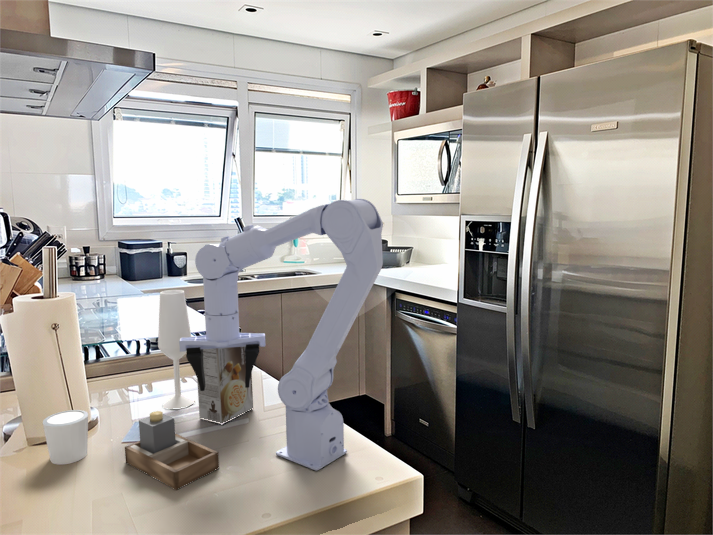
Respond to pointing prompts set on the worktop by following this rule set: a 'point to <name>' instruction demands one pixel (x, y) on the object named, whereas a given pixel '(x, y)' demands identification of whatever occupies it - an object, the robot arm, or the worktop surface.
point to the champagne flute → (174, 338)
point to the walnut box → (174, 461)
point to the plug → (157, 432)
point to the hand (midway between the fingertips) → (225, 387)
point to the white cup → (67, 436)
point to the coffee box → (224, 385)
